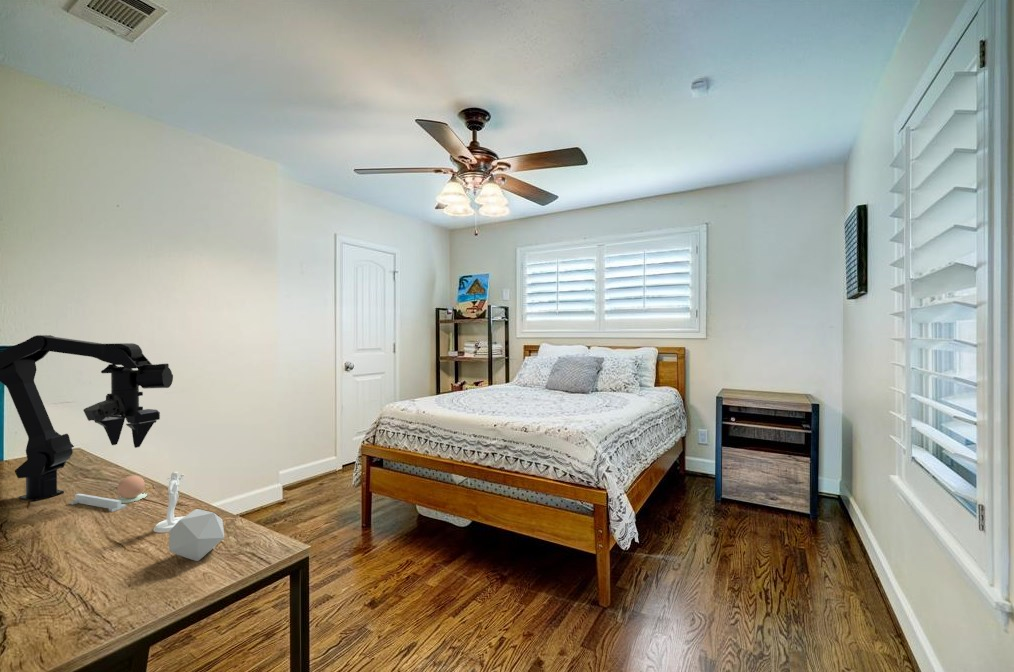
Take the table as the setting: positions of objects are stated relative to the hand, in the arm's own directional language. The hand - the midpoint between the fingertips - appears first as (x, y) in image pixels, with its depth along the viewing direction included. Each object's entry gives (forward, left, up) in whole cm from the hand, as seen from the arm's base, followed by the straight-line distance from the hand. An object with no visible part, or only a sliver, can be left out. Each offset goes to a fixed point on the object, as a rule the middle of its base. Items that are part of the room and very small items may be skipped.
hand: (125, 446), depth 120 cm
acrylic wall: (+6, -10, -12) cm, 17 cm away
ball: (+9, -4, -12) cm, 15 cm away
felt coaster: (+9, -4, -12) cm, 16 cm away
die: (+54, -20, -12) cm, 59 cm away
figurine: (+36, -12, -12) cm, 40 cm away
